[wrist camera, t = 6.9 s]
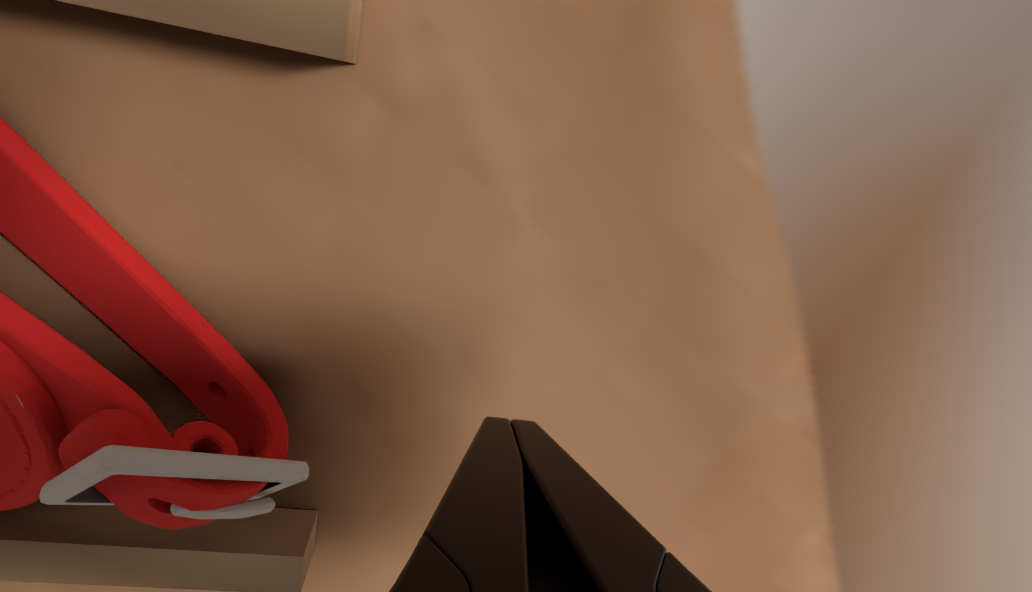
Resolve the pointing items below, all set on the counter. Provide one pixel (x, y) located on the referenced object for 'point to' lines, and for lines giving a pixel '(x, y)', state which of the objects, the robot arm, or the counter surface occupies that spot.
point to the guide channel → (223, 542)
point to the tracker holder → (105, 398)
